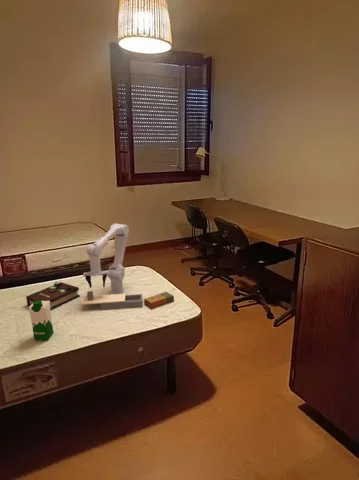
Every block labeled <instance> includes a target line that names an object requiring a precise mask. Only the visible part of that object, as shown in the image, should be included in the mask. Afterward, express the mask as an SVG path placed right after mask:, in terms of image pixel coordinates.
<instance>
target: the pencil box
mask: <svg viewBox="0 0 359 480" xmlns="http://www.w3.org/2000/svg"><path fill="white" fill-rule="evenodd" d="M143 301H144V298H143V294H142V293H139V294H137V293H136V294H126V296H125V302H115V303H100V304H99V305H100V310H115V309H116V310H117V309H130V308H142V307H143V305H144V302H143Z"/></svg>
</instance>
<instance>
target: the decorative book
mask: <svg viewBox="0 0 359 480" xmlns="http://www.w3.org/2000/svg"><path fill="white" fill-rule="evenodd" d="M79 290H80V289H79V287H78V286H75V285H71V284H69V283H65V282H61V281H60V282H58V281H56V282H54V283H53V285H50V286H48V287H45V288H43V289H41V290H39V291H36V292H34V293H33V292H32V293H31V294H29V295H26V296H25V298H26V304H27V307H28V306H29V307H30V306H31V305H32V303H33V302H34V301H38V300H40V301H50V311H51V312H52V311H53V310H55V309H57V308H59V307H62V306H64V305H66V304H67V303H70V302H72V301H73V300H76V299H79V298H80V297H81V295H80V294H78V293H79ZM63 304H64V305H63ZM29 307H28V308H29Z"/></svg>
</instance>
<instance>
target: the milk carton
mask: <svg viewBox="0 0 359 480" xmlns="http://www.w3.org/2000/svg"><path fill="white" fill-rule="evenodd" d="M28 311H29V315H30V320H31V327H32V332H33V333H32V334H33V339H34V341H49V340H50V339H49V338H51V337H52V336H53V334H54V327H53V320H52V319H53V318H52V313H51V312H52V310H51V311H50V301H40V300H38V301H34V302H33V303H32V305H31V306H30V307H28Z"/></svg>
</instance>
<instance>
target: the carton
mask: <svg viewBox="0 0 359 480" xmlns="http://www.w3.org/2000/svg"><path fill="white" fill-rule="evenodd" d="M143 301H144V302H143V305H145V306H146V307H147V308H149V309H151V310H153V309H156V308H158V307H162V306H164V305H168V304H171V303H173V302H175V296H174V295H173V294H171V293H169V292H167V291H164V292H161V293H158V294H155V295H151V296H148V297H145V298H143Z"/></svg>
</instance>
